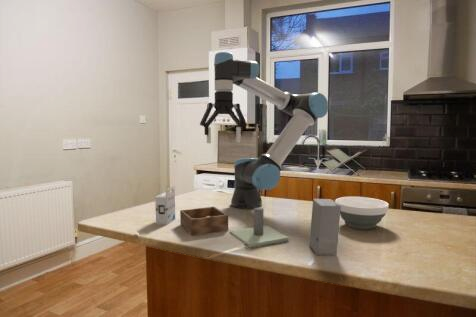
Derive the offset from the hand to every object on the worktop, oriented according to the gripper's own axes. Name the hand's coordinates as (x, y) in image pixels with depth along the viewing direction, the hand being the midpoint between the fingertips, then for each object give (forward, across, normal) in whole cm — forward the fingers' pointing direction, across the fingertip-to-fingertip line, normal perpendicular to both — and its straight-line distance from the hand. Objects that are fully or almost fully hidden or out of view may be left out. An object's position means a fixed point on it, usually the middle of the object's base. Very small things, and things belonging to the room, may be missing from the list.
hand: (223, 142), depth 140 cm
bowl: (+32, -43, +35) cm, 64 cm away
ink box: (+32, +25, -1) cm, 41 cm away
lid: (+31, 0, +30) cm, 43 cm away
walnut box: (+32, +14, +13) cm, 37 cm away
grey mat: (+32, 0, +30) cm, 44 cm away
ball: (+31, +11, +10) cm, 34 cm away
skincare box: (+32, -13, +49) cm, 60 cm away
